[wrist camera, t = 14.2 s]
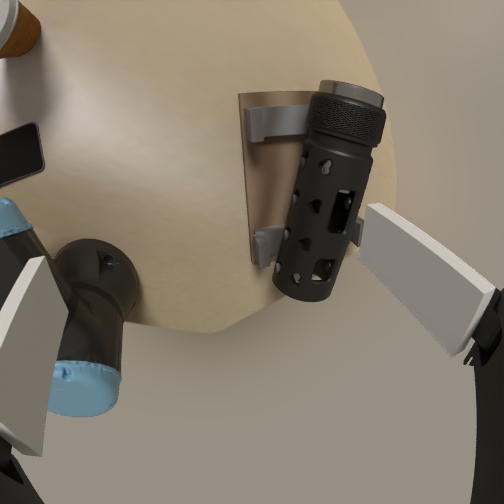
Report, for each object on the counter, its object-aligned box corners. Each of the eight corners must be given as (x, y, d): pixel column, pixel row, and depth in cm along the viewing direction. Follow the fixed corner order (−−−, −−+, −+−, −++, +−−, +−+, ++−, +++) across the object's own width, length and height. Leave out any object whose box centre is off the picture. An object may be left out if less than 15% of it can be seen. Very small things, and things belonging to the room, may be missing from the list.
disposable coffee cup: (6, 10, 18) (-36, -5, 8) (59, 3, 21) (25, -22, 11) (-10, 70, 22) (-58, 72, 12) (41, 65, 25) (-2, 61, 15)
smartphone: (45, 169, 32) (-28, 196, 29) (48, 167, 33) (-25, 194, 30) (36, 120, 29) (-38, 153, 25) (39, 119, 30) (-35, 151, 26)
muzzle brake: (260, 263, 47) (283, 305, 38) (299, 78, 34) (340, 77, 25) (314, 264, 50) (343, 302, 41) (358, 96, 37) (405, 103, 28)
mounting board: (251, 260, 49) (260, 279, 44) (238, 93, 35) (248, 93, 31) (347, 240, 52) (363, 255, 48) (354, 92, 39) (375, 95, 34)
